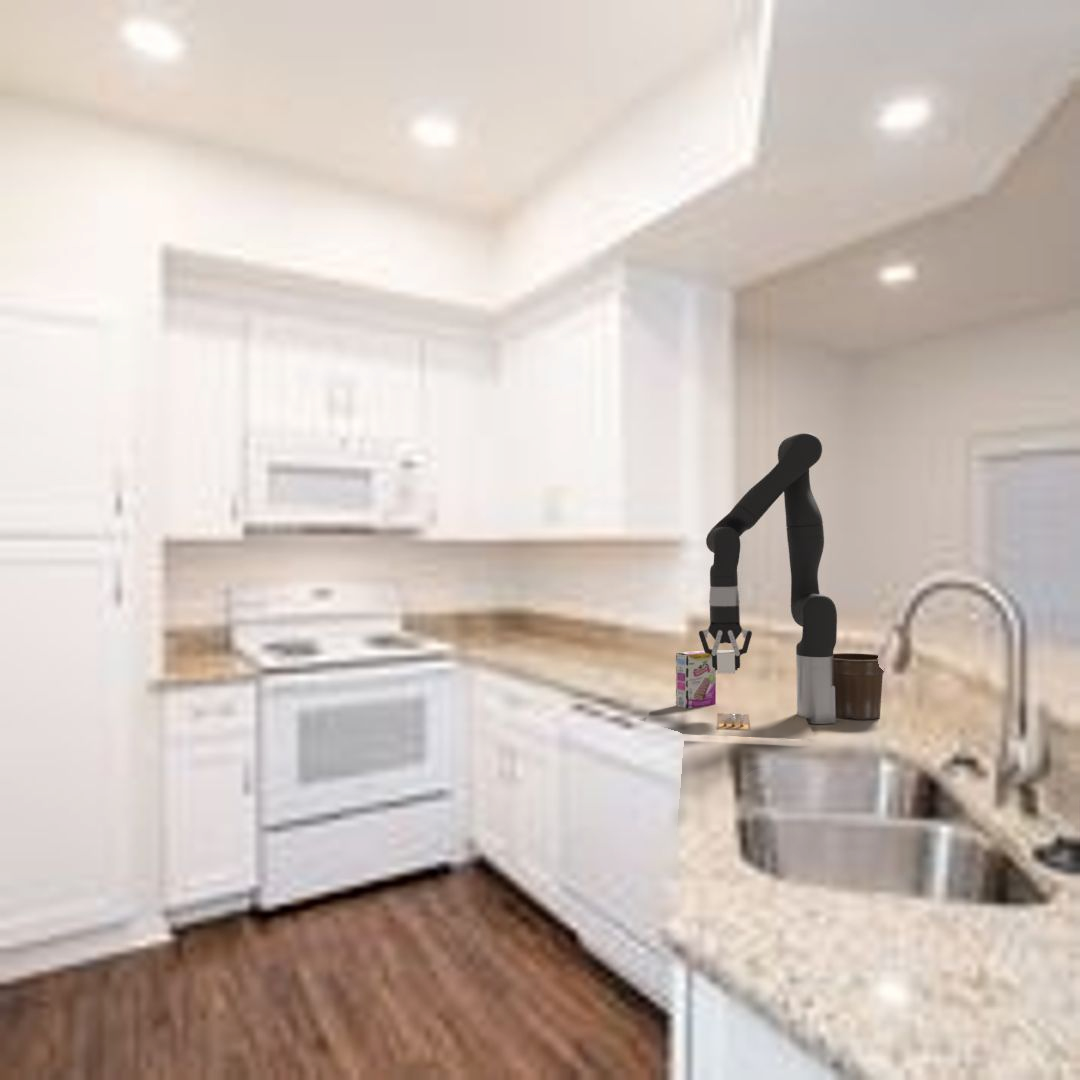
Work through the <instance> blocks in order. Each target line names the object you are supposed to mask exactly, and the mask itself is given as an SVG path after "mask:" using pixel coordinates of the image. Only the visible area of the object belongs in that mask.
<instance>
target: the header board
mask: <svg viewBox="0 0 1080 1080" xmlns="http://www.w3.org/2000/svg"><path fill="white" fill-rule="evenodd" d="M723 714H725V713H724V712H721V713H719V712H718V713H717V719H716V730H720V731H721V730H722V731H723V730H725V731H742V732H743V731H745V732H746V731H749V732H750V731H752V729H751V721H750V714H748V713H747V714H746V713H743V714H744V727H740V714H741V713H734V714H735V727H732V714H733V713H726V714H727V726H723Z"/></svg>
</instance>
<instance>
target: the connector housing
mask: <svg viewBox="0 0 1080 1080" xmlns="http://www.w3.org/2000/svg"><path fill="white" fill-rule="evenodd" d="M716 672H717V673H716V675H717V674H721V675H722V674H725V675H726V674H731V675H733V674H736V670H735V652H734V649H732V650H731V649H729V650H727V649H725V650H724V649H722V650H721V649H720V650H719V649H718V650H717V670H716Z"/></svg>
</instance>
